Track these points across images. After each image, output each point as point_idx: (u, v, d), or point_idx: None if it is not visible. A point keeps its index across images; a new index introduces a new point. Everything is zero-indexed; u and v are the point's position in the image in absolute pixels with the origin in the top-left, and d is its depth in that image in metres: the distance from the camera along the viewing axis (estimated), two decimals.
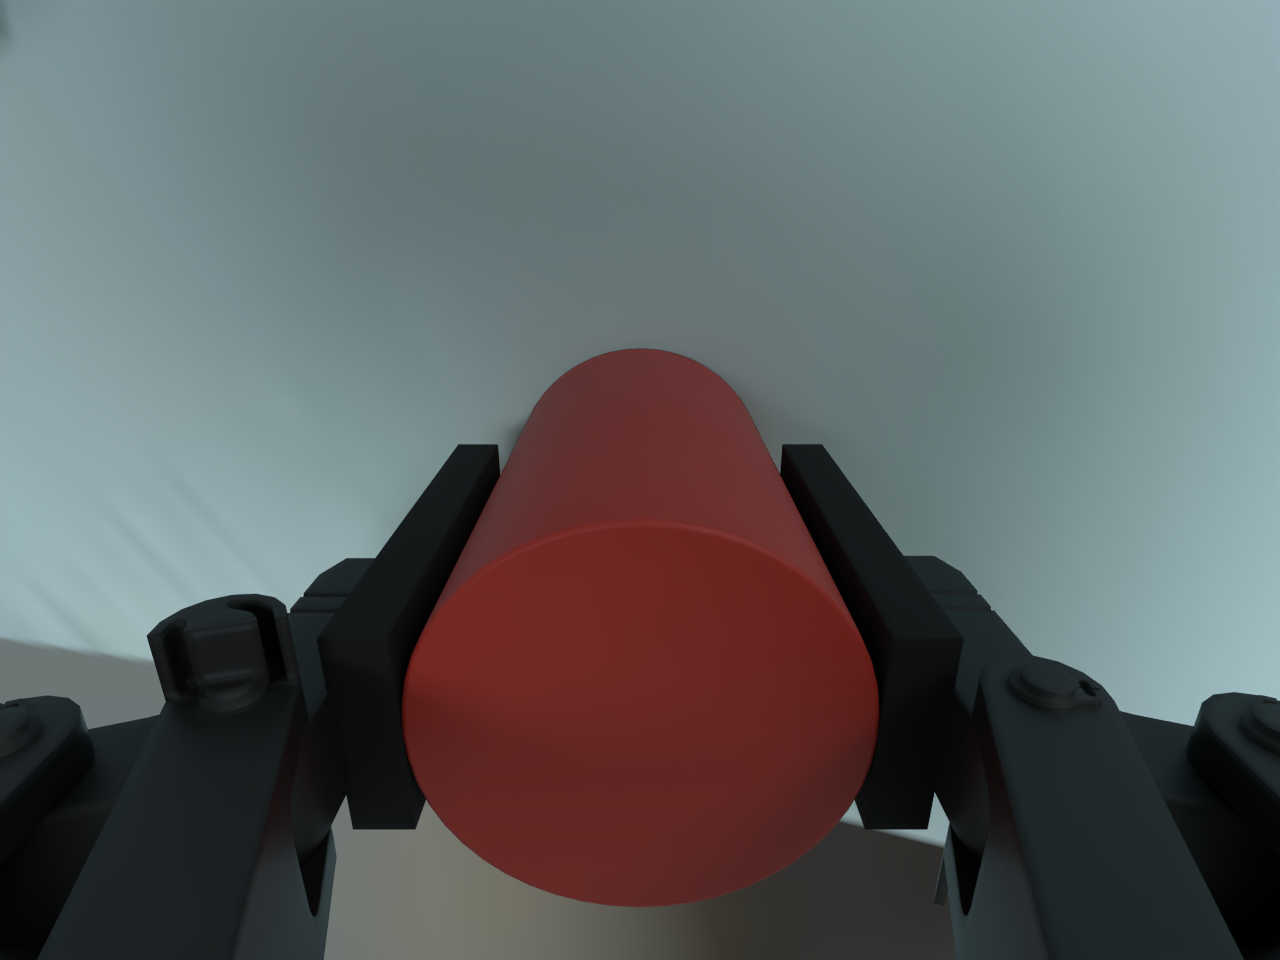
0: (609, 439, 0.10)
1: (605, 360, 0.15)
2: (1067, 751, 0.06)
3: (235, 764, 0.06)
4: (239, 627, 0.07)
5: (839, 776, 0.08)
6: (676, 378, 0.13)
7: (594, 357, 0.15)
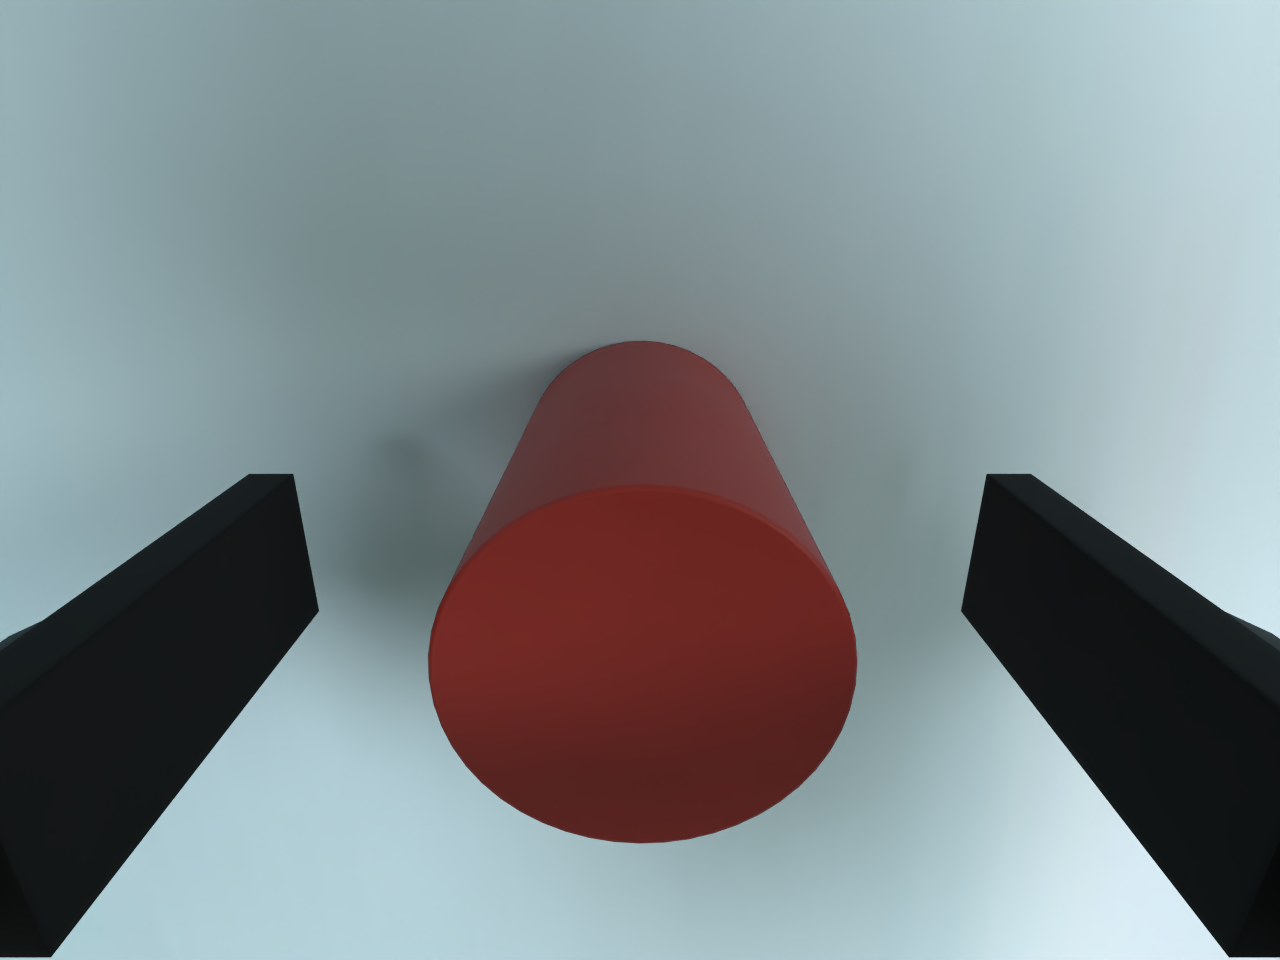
0: (615, 419, 0.11)
1: (608, 351, 0.16)
2: None
3: None
4: None
5: (821, 719, 0.09)
6: (675, 367, 0.14)
7: (598, 349, 0.16)
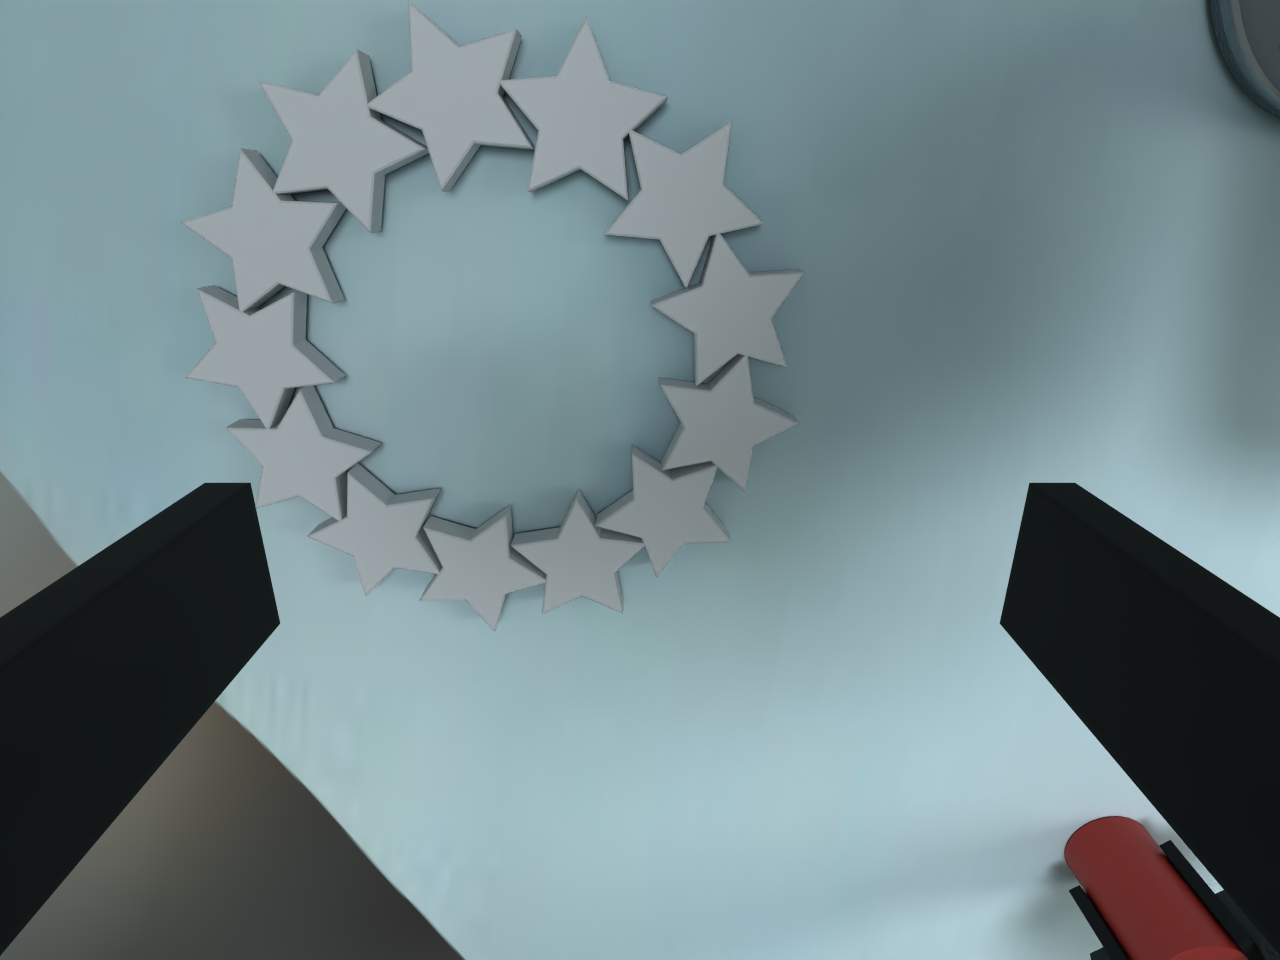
0: (1173, 901, 0.42)
1: (1112, 827, 0.47)
2: None
3: None
4: None
5: None
6: (1149, 848, 0.45)
7: (1101, 819, 0.47)
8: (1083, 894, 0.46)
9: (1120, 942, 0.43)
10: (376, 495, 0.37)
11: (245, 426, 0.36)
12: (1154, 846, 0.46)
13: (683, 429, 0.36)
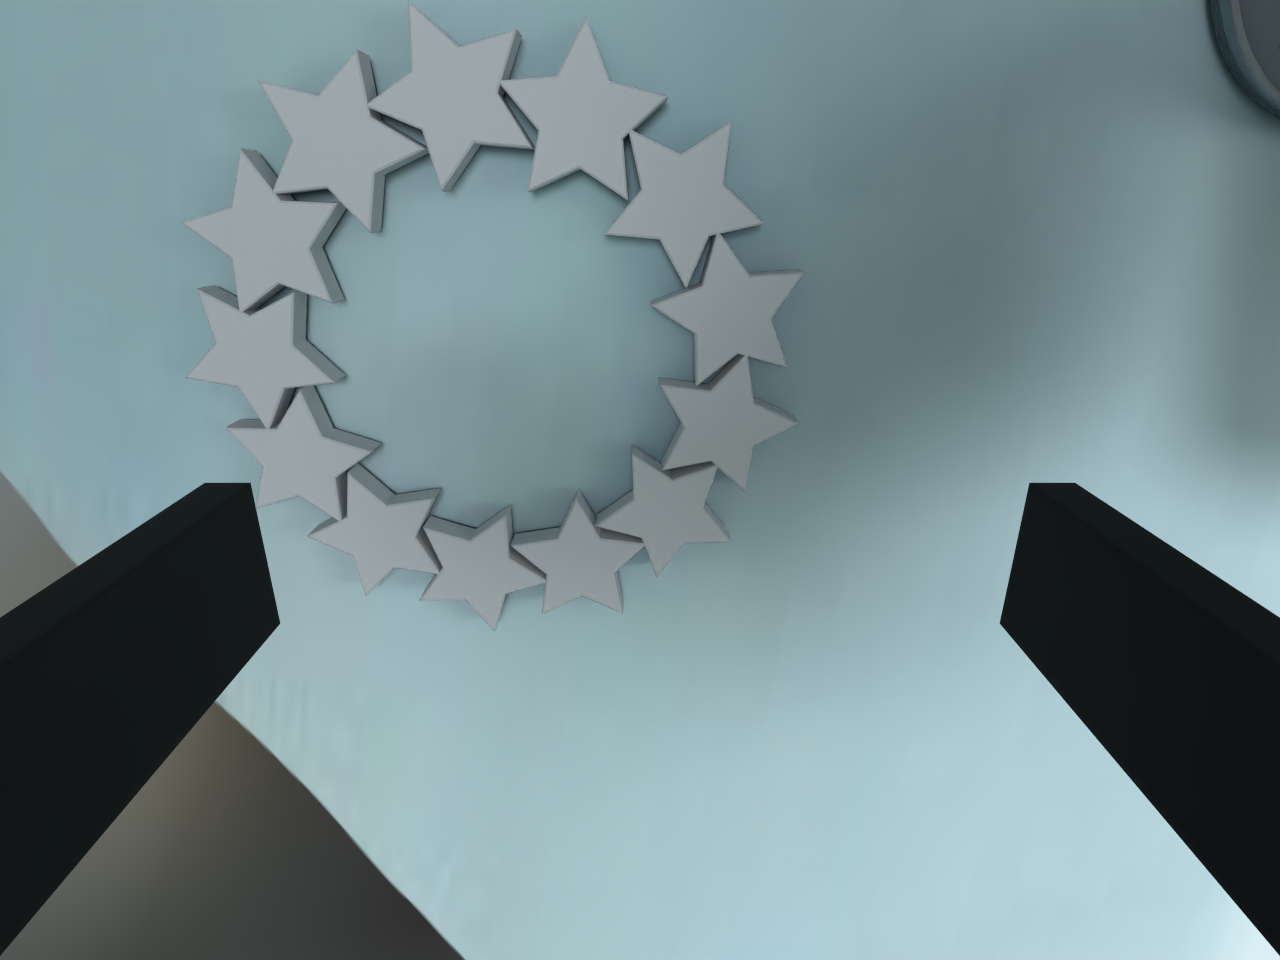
0: None
1: None
2: None
3: None
4: None
5: None
6: None
7: None
8: None
9: None
10: (376, 495, 0.37)
11: (245, 426, 0.36)
12: None
13: (683, 429, 0.36)
